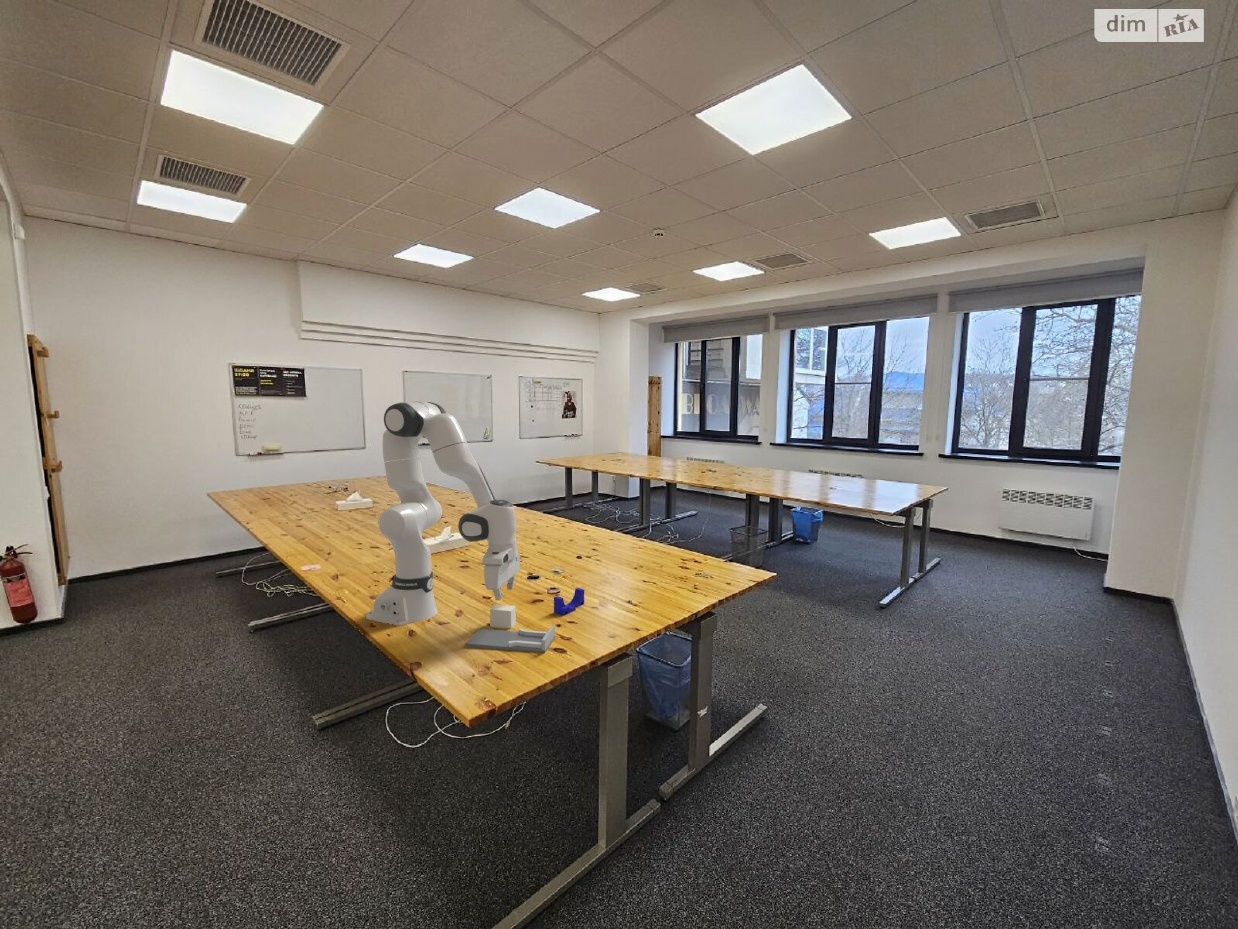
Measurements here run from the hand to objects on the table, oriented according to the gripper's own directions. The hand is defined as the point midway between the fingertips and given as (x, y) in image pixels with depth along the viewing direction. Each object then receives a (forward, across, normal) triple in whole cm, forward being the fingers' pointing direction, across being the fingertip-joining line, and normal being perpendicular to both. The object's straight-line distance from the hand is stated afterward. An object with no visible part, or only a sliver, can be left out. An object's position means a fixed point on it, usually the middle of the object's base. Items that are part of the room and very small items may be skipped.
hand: (504, 594), depth 159 cm
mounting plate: (+11, +11, +6) cm, 16 cm away
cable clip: (+11, -16, +17) cm, 26 cm away
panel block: (+10, 0, -1) cm, 11 cm away
